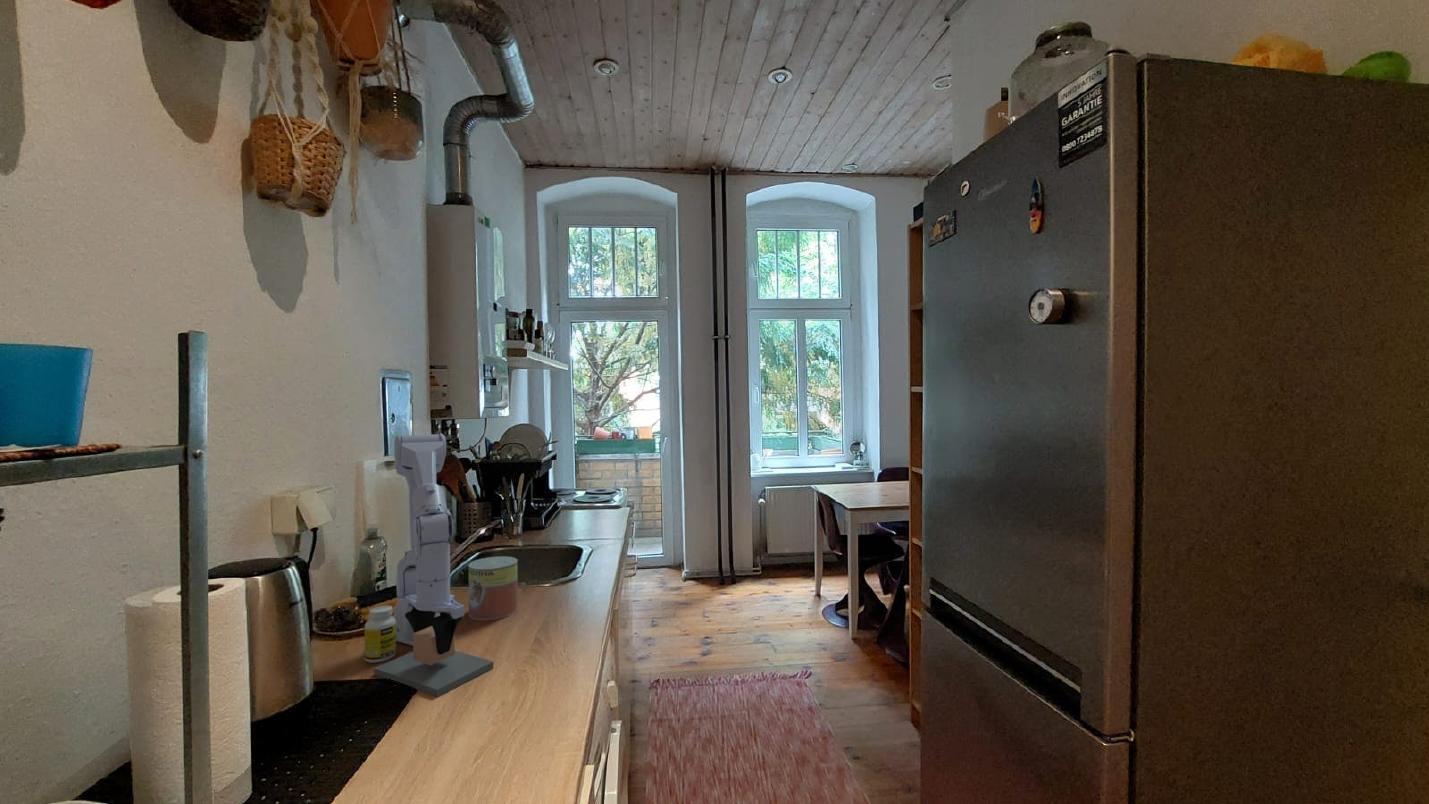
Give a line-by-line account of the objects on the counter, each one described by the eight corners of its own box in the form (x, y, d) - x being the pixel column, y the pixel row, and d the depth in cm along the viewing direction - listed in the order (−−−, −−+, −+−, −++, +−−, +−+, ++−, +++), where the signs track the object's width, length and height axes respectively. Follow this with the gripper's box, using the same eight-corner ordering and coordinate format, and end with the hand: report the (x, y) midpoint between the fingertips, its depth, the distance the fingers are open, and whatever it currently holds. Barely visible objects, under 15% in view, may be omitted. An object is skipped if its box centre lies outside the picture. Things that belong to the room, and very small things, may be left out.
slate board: (374, 674, 107) (374, 668, 107) (431, 649, 117) (431, 643, 117) (437, 696, 98) (437, 689, 98) (493, 667, 109) (493, 661, 109)
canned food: (458, 614, 137) (458, 564, 137) (498, 600, 147) (497, 553, 147) (488, 623, 131) (488, 571, 131) (527, 608, 141) (527, 560, 141)
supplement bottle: (381, 664, 111) (381, 614, 111) (358, 662, 112) (357, 612, 112) (402, 652, 116) (402, 604, 116) (379, 650, 117) (379, 603, 117)
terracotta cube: (413, 659, 107) (413, 633, 107) (437, 649, 111) (437, 623, 111) (430, 665, 104) (430, 638, 104) (454, 654, 109) (454, 628, 109)
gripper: (477, 577, 108) (478, 648, 108) (427, 567, 115) (428, 634, 115) (444, 587, 102) (445, 663, 102) (394, 577, 109) (394, 648, 109)
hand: (434, 649), depth 108 cm, fingers closed on terracotta cube, 5 cm apart
